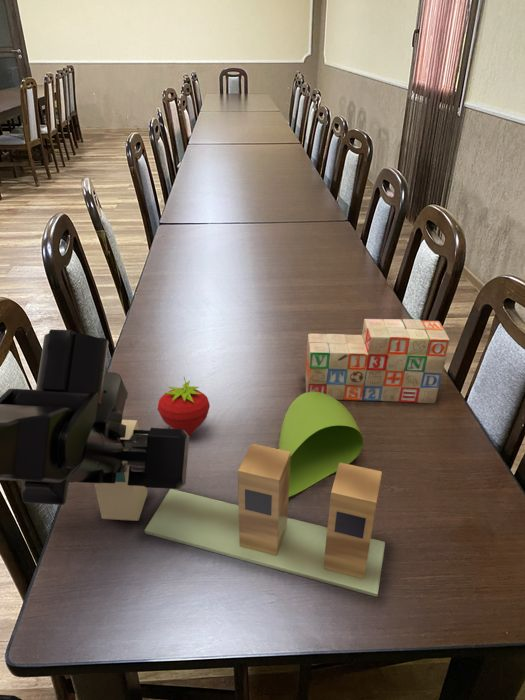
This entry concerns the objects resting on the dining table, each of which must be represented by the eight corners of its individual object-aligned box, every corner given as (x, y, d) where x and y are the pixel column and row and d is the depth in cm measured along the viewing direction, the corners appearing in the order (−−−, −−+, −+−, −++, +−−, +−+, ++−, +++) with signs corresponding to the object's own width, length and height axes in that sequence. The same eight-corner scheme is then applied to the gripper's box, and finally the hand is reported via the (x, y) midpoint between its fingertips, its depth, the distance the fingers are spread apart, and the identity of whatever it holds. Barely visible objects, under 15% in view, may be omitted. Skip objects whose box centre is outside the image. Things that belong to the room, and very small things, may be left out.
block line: (377, 597, 58) (392, 516, 52) (144, 533, 65) (132, 455, 59) (384, 545, 64) (399, 466, 57) (170, 491, 71) (162, 416, 65)
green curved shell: (372, 448, 65) (341, 368, 83) (272, 466, 65) (263, 383, 83) (378, 497, 68) (347, 410, 86) (283, 514, 69) (272, 425, 87)
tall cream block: (138, 521, 66) (126, 446, 60) (101, 519, 66) (85, 444, 60) (147, 493, 70) (137, 420, 64) (112, 491, 70) (99, 418, 64)
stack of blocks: (306, 400, 89) (310, 335, 82) (304, 378, 94) (308, 316, 88) (436, 403, 88) (450, 338, 82) (427, 381, 94) (440, 319, 87)
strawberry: (163, 422, 83) (157, 368, 78) (212, 422, 84) (209, 368, 78) (158, 448, 78) (151, 392, 73) (210, 447, 78) (207, 391, 73)
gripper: (179, 371, 52) (202, 397, 67) (-8, 363, 53) (56, 390, 68) (169, 489, 49) (195, 488, 64) (-29, 479, 50) (43, 480, 65)
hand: (122, 458), depth 66 cm, fingers closed on tall cream block, 4 cm apart
